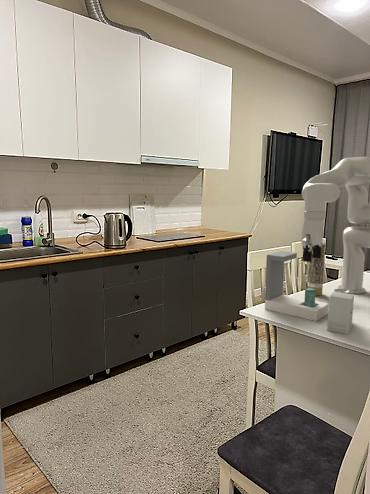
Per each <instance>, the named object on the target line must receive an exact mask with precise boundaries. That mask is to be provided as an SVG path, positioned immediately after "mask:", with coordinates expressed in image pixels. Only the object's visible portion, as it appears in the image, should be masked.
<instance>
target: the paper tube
mask: <svg viewBox="0 0 370 494" xmlns="http://www.w3.org/2000/svg"><path fill="white" fill-rule="evenodd" d="M313 248H315V247H314V246H312V249H311V252H312V255H311V262H308V269H307V271H308V272H307V286H306V287H307V288H311V289H315V290H316V294H315V297H318V296H319V297H320V296H322V295H323V288H324V271H325V257H326V256H325V254H326V242H324V241H322V250H321V258H313ZM307 288H306V289H307Z"/></svg>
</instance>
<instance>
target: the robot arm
mask: <svg viewBox="0 0 370 494" xmlns="http://www.w3.org/2000/svg"><path fill="white" fill-rule="evenodd" d="M367 186H368V187H370V157H369V156H354V157H353V156H351V157H345V158H343V159H341V160H340V161H339V162H337V164H335V166H334V167H333V168H332V169H330V170H328V171H325V172H322V173H320V174H318V175H315V176H313V177H311V178H309V180H308V181H306V183H305V184H304V185H303V187H302V190H301V197H302V199H303V200H304V211H303V214H304V215H303V220H304V221H303V225H302V234H301V245H302V262H307V263H309V262H311V255H312V252H311V249H312V246H314V247H315V248H313V258H321V250H322V242H323V238H324V221H325V219H326V217H325V216H326V203H334V202H336V201H337V200H338V199H339V198H340V196H341V190H340V188H343V187H345V189H346V192H347V194H348V197H347V198H348V201H347V213H346V214H347V221H348V222H349V223H350V224H353V225H369V226H370V203H369V192H368V190H367V188H366V187H367ZM342 241H343V243H342V244H343V257H342V272H341V285H338V286H337V289H345V290H348V291H350V294H353V295H355V294H358V295H359V294H365V293H366V291H367V290H366V288H364V286H363V283H364V275H365V273H364V271H365V259H366V256H365V253H364V251H363V249H362V248H367V249H370V227H368V226H367V227H366V226H347V227H345V228H344V229H343V232H342Z"/></svg>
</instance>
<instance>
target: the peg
mask: <svg viewBox="0 0 370 494" xmlns="http://www.w3.org/2000/svg"><path fill="white" fill-rule="evenodd" d="M315 294H316V290H315V289H311V288H305V289H304V299H305V301H304V306H308V307H313V308H314V307H315V301H316V296H315Z"/></svg>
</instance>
